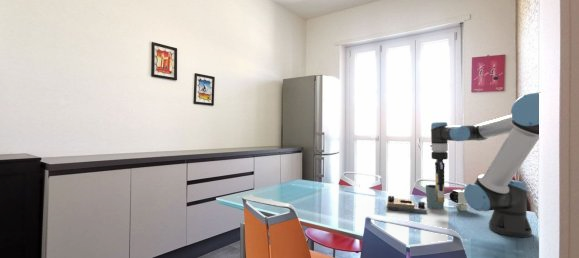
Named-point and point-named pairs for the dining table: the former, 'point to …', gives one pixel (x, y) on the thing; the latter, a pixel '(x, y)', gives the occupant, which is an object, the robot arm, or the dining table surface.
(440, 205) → the grey green open container
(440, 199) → the brass pin
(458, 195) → the white camera
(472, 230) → the dining table surface
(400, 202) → the brown block with knobs
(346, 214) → the dining table surface
